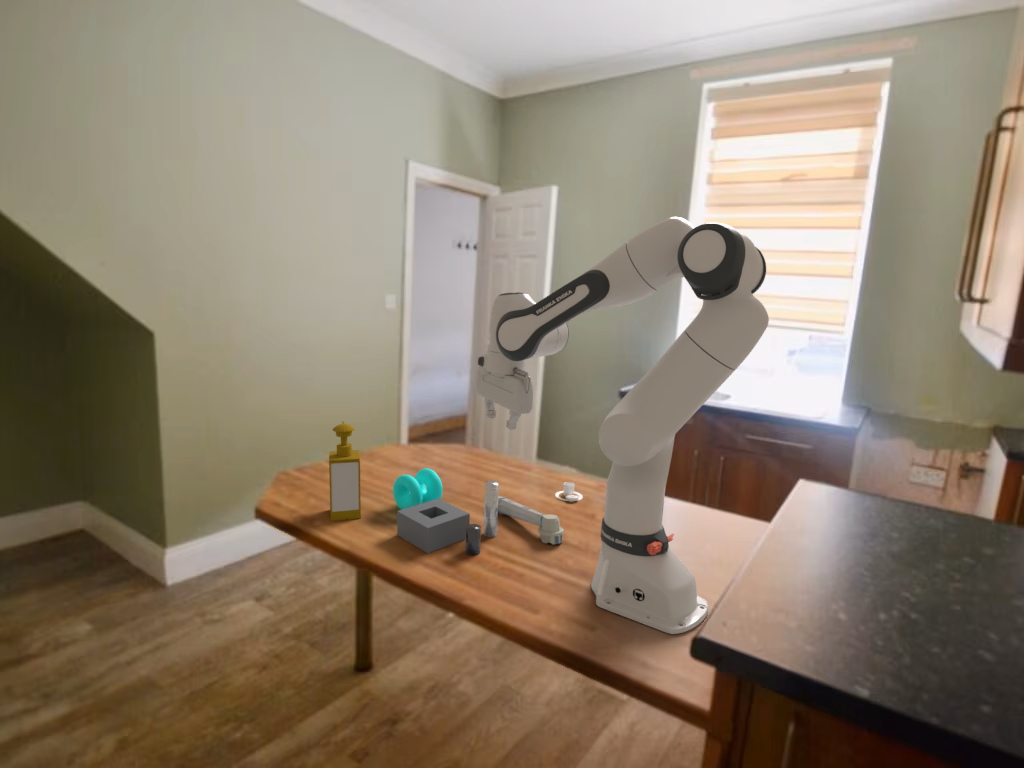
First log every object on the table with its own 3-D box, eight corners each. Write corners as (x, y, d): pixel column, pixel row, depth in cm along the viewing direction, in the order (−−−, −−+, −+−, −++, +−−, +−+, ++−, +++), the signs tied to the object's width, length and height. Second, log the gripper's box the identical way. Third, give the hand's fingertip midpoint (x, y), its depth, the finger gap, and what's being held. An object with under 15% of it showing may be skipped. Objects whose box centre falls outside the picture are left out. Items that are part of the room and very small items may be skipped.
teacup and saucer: (578, 505, 154) (579, 491, 153) (551, 501, 156) (551, 487, 156) (585, 494, 162) (586, 481, 161) (558, 490, 164) (559, 477, 164)
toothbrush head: (503, 492, 150) (567, 512, 130) (504, 517, 150) (569, 541, 130) (487, 496, 147) (550, 517, 126) (488, 521, 147) (551, 546, 127)
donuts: (390, 508, 146) (390, 472, 145) (419, 497, 154) (420, 463, 152) (415, 519, 140) (415, 481, 138) (444, 508, 148) (445, 472, 146)
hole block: (469, 537, 131) (469, 513, 130) (427, 553, 123) (427, 528, 122) (437, 521, 139) (438, 498, 138) (397, 534, 131) (397, 511, 130)
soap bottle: (358, 499, 151) (357, 415, 147) (360, 518, 139) (359, 427, 135) (330, 501, 149) (328, 416, 145) (330, 521, 137) (328, 428, 133)
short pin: (483, 552, 124) (483, 527, 123) (472, 557, 122) (472, 531, 121) (473, 547, 126) (474, 522, 125) (462, 551, 124) (463, 526, 123)
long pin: (499, 534, 133) (501, 483, 131) (489, 538, 131) (491, 486, 129) (490, 530, 135) (492, 479, 133) (480, 534, 133) (482, 482, 131)
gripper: (542, 372, 119) (536, 434, 121) (496, 356, 136) (491, 411, 138) (517, 373, 115) (511, 436, 118) (473, 356, 133) (469, 412, 135)
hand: (500, 422), depth 128 cm, fingers open, 8 cm apart
